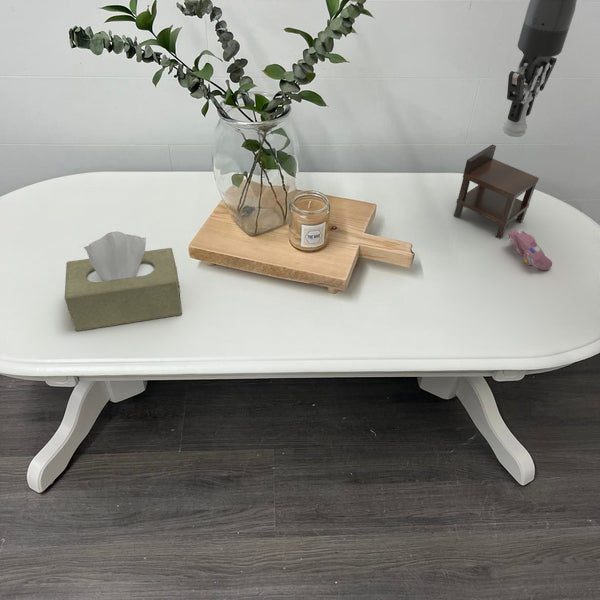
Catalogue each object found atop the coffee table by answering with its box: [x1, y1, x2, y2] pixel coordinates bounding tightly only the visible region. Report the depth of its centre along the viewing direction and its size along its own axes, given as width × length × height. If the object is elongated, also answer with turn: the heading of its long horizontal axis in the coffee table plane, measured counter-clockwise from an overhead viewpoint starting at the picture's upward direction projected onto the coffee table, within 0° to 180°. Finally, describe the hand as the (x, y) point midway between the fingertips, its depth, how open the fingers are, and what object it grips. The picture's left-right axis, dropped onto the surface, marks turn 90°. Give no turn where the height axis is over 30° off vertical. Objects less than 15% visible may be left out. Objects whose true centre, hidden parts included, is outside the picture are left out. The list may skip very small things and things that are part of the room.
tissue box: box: [64, 230, 183, 332], centre depth 99 cm, size 19×10×16 cm, turn 105°
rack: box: [453, 143, 540, 240], centre depth 123 cm, size 12×10×14 cm
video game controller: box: [507, 228, 553, 271], centre depth 115 cm, size 10×5×7 cm, turn 17°
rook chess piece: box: [502, 90, 533, 138], centre depth 109 cm, size 4×4×8 cm
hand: (518, 117), depth 110 cm, fingers closed on rook chess piece, 3 cm apart
